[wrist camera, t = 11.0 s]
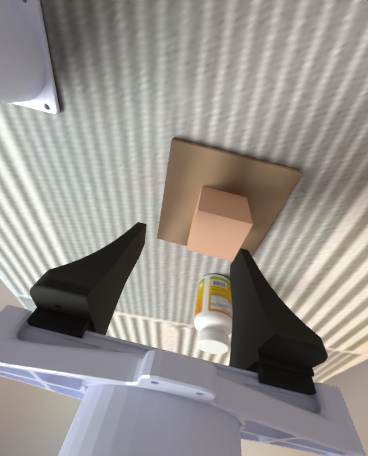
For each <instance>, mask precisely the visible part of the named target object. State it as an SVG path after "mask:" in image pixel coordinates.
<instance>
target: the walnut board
mask: <svg viewBox="0 0 368 456" xmlns="http://www.w3.org/2000/svg"><path fill="white" fill-rule="evenodd" d="M302 174H303V173H302V172H301V171H300V170H297V169H293V168H289V167H285V166H282V165H278V164H274V163H270V162H266V161H262V160H258V159H254V158H250V157H247V156H243V155H239V154H235V153H231V152H227V151H223V150H219V149H215V148H211V147H208V146H204V145H200V144H196V143H192V142H188V141H184V140H180V139H176V138H173V139H172V141H171V148H170V155H169V162H168V168H167V175H166V182H165V189H164V195H163V202H162V209H161V216H160V222H159V229H158V236H157V238H158V239H162V240H166V241H169V242H173V243H177V244H181V245H185V246H187V243H188V238H189V233H190V228H191V224H192V220H193V216H194V213H195V209H196V206H197V202H198V199H199V195H200V192H201V188H202V186H204V187H208V188H212V189H216V190H220V191H224V192H227V193H231V194H235V195H239V196H243V197H247V200H248V205H249V209H250V214H251V218H252V222H253V225H252V227H251V229H250V231H249V233H248V234H247V236H246V238H245V240H244V242H243V244H242V245H241V247H240V248H242V249H246V250H248V251H249V252H250V254H251V256H252V255H253V253H254V252H255V250H256V248H257V247H258V245H259V243H260V242H261V240H262V239H263V237H264V235H265V234H266V232H267V231H268V229H269V227H270V226H271V224H272V223H273V221H274V219H275V218H276V216H277V214H278V213H279V211H280V210H281V208H282V206H283V205H284V203H285V202H286V200H287V198H288V197H289V195H290V194H291V192H292V190H293V189H294V187H295V185H296V184H297V182H298V181H299V179H300V177H301V176H302ZM236 255H237V254H236ZM235 257H236V256H235Z"/></svg>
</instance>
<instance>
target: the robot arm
mask: <svg viewBox="0 0 368 456" xmlns="http://www.w3.org/2000/svg"><path fill="white" fill-rule="evenodd" d="M1 103H13V104H16V105H20V106H24V107H28V108H32V109H36V110H40V111H44V112H48V113H51V114H58V113H59V111H60V109H59V104H58V98H57V93H56V87H55V82H54V76H53V71H52V65H51V60H50V54H49V49H48V43H47V38H46V32H45V27H44V21H43V16H42V10H41V5H40V1H39V0H27V2H25V0H0V104H1ZM47 104H48V105H49V107H50V109H49V108H48V106H47ZM145 234H146V224H144V223H140V222H138V223H136V224H135V225H134V226H133V227H132V228H131V229H129V230H128V231H127V232H126V233H124V234H123V235H122V236H120V237H119V238H118V239H116V240H115V241H113V242H112V243H110V244H109V245H107V246H105V247H104V248H102V249H100V250H98V251H97V252H95V253H93V254H91V255H88V256H86V257H84V258H82V259H79V260H77V261H74V262H72V263H69V264H66V265H63V266H60V267H56V268H53V269H50V270H48V271H47V272H46V273H45V274H44V275H43V276H42V277H41V278H40V279H39V280H38V281H37V282H36V283H35V284H34V286H33V287H32V288H31V289H30V295H31V297H32V299H33V301H34V303H35V304H36V306H37V308H36V310H35V311H34V312H33V313H32V312H31V311H29V310H27V309H23V308H19V307H15V306H11V305H7V306H6V307H5V308H4V309H3V310H2V311H1V312H0V376H2V377H6V378H10V379H13V380H17V381H20V382H24V383H27V384H31V385H34V386H37V387H40V388H44V389H47V390H50V391H53V392H57V393H60V394H63V395H66V396H70V397H73V398H76V399H80V400H82V402H81V404H80V406H79V409H78V411H77V413H76V416H75V418H74V420H73V422H72V425H71V427H70V429H69V432H68V434H67V437H66V439H65V441H64V443H63V446H62V448H61V450H60V453H59V455H58V456H241V440H240V439H245V440H250V441H255V442H261V443H265V444H271V445H276V446H281V447H286V448H291V449H296V450H300V451H306V452H310V453H314V454H318V455H323V456H365V455H366V454H365V452H364V449H363V447H362V444H361V441H360V439H359V436H358V434H357V431H356V429H355V426H354V424H353V421H352V418H351V416H350V414H349V411H348V408H347V406H346V403H345V401H344V398H343V396H342V393H341V391H340V388H338V387H335V386H331V385H327V384H323V383H313V380H312V376H314V372H313V369H312V368H313V367H315V366H317V365H319V364H321V363H323V362H324V361H326V359H327V358H328V355H327V352H326V349H325V347H324V344H323V342H322V340H321V338H320V337H319V336H318V335H317V334H316V333H315V332H313V331H312V330H311V329H310V328H309V327H308V326H306V325H305V324H304V323H303V322H302V321H301V320H300V319H299V318H298V317H297V316H296V315H295V314H294V313H293V312H292V311H291V310H290V309H289V308H288V307H287V306H286V305H285V304H284V302H283V301H282V300H281V299H280V298H279V297H278V295H277V294H276V293H275V292H274V290H273V289H272V288H271V286H270V285H269V283H268V282H267V281H266V279H265V278H264V276H263V275H262V273H261V271H260V270H259V268H258V266H257V265H256V263H255V261H254V259H253V258H252V256H251V254H250V252H249V251H248V250H246V249H242V248H240V249H239V251H238V253H237V255H236V257H235V258H234V260H233V262H232V264H231V266H230V286H231V298H232V338H231V353H230V364H229V366H226V365H222V364H218V363H214V362H210V361H206V360H202V359H198V358H194V357H190V356H186V355H182V354H178V353H174V352H170V351H166V350H162V349H158V348H154V347H150V346H146V345H142V344H138V343H134V342H130V341H126V340H122V339H118V338H114V337H110V336H106V332H107V329H108V326H109V324H110V321H111V318H112V316H113V313H114V310H115V308H116V305H117V303H118V300H119V298H120V295H121V293H122V290H123V288H124V285H125V283H126V281H127V279H128V277H129V275H130V273H131V272H132V270H133V268H134V266H135V264H136V262H137V260H138V258H139V256H140V254H141V252H142V249H143V247H144V244H145Z"/></svg>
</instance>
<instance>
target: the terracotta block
mask: <svg viewBox="0 0 368 456" xmlns="http://www.w3.org/2000/svg"><path fill="white" fill-rule="evenodd" d="M252 225H253V222H252V218H251V214H250V209H249V205H248V200H247V197H243V196H239V195H235V194H231V193H227V192H224V191H220V190H216V189H212V188H208V187H204V186H202V188H201V192H200V195H199V199H198V202H197V206H196V209H195V213H194V216H193V220H192V224H191V228H190V233H189V238H188V243H187V247H186V250H190V251H194V252H198V253H201V254H205V255H209V256H213V257H217V258H221V259H225V260H228V261H232V262H233V260H234V258H235V256H236V254H237V253H238V251H239V249H240V247H241V245H242V244H243V242H244V240H245V238H246V236H247V234H248V233H249V231H250V229H251V227H252Z"/></svg>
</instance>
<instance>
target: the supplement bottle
mask: <svg viewBox="0 0 368 456" xmlns="http://www.w3.org/2000/svg"><path fill="white" fill-rule="evenodd" d="M194 324H195V327H196V329H197V330H198V331H199V333H198V340H197V346H198V348H199V349H200V350H202V351H204V352H207V353H212V354H222V353H226V352H227V351H228V350H229V337H228V335H229V334H230V333H231V332H232V298H231V286H230V281H229V280H228V279H227V278H225V277H224V276H221V275H218V274H209V275H206V276H204V277H202V278H201V279H200V280H199V283H198V292H197V301H196V310H195V319H194Z"/></svg>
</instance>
